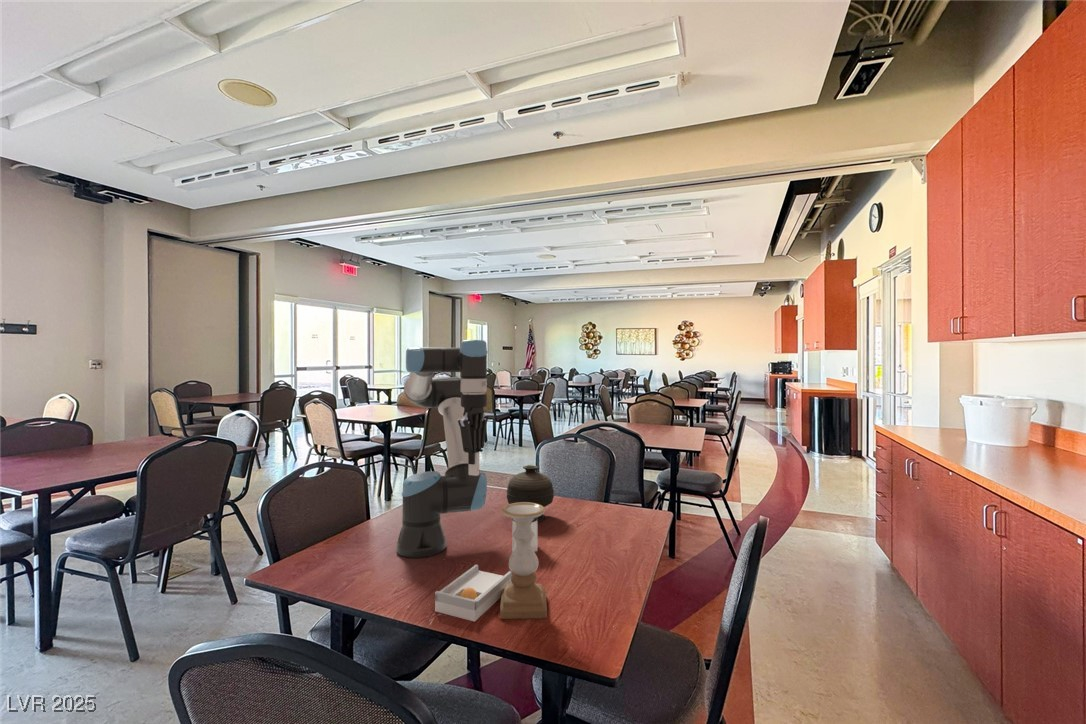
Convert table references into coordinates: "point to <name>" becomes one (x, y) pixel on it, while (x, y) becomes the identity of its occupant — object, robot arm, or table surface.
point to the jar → (534, 540)
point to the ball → (469, 593)
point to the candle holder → (523, 568)
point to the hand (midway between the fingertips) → (473, 474)
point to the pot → (530, 488)
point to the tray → (486, 590)
